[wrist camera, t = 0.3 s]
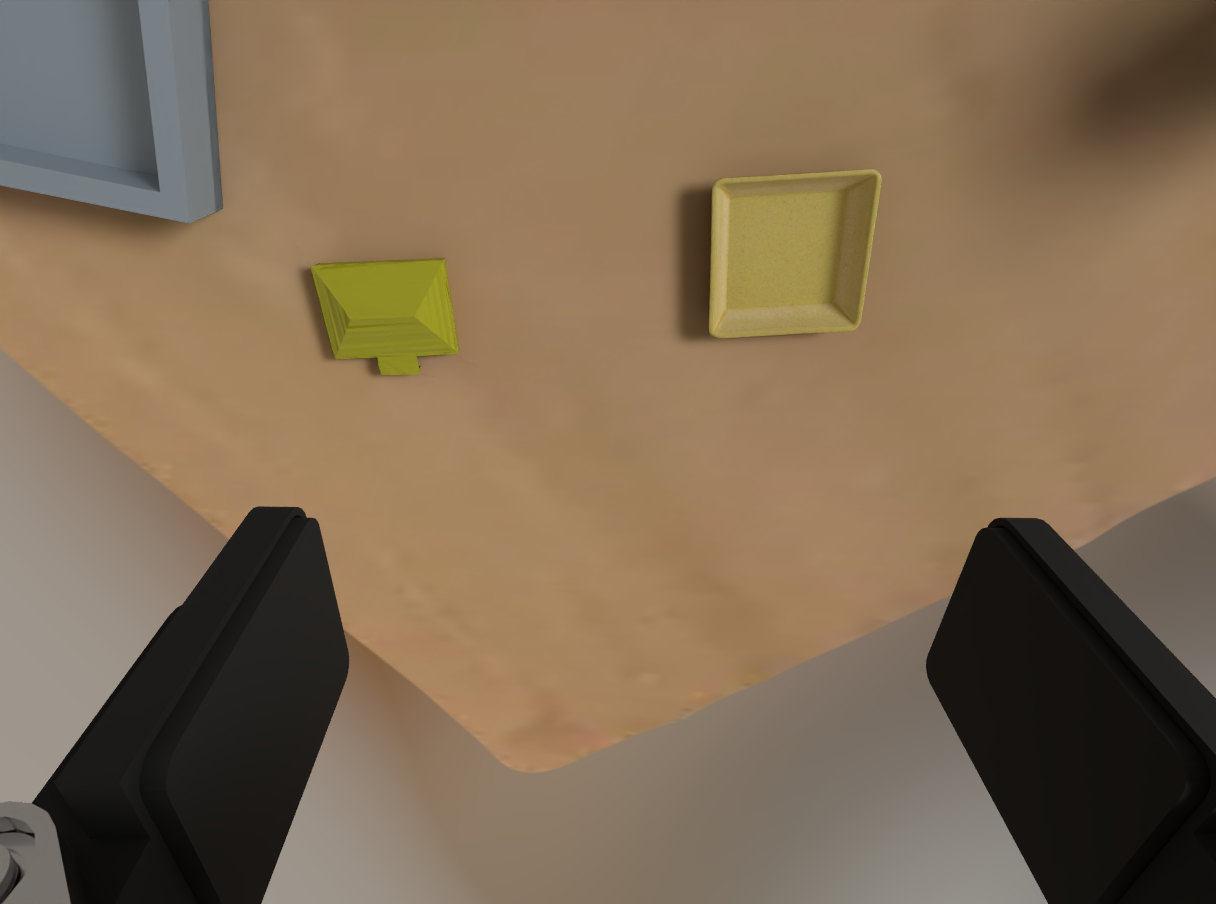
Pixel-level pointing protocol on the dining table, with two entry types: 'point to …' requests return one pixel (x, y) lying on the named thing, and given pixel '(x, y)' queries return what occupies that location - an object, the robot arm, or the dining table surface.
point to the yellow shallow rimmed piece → (791, 252)
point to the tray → (111, 104)
